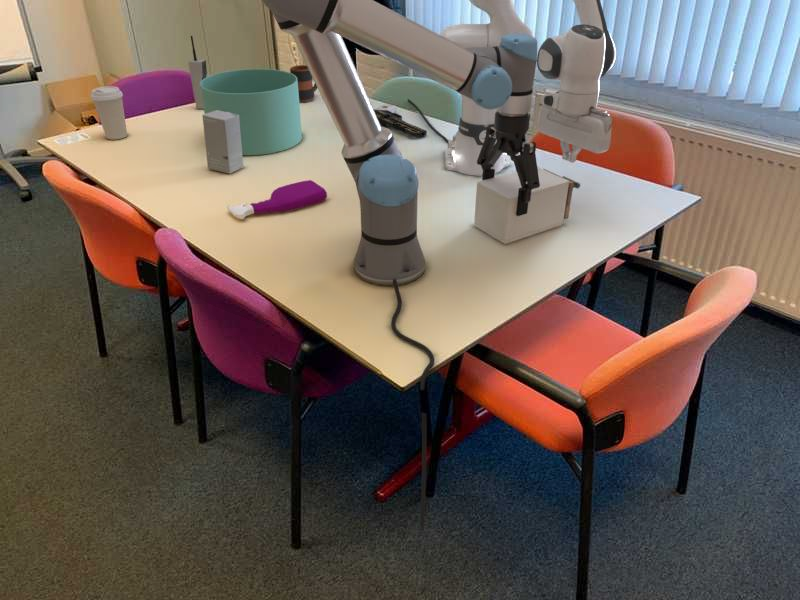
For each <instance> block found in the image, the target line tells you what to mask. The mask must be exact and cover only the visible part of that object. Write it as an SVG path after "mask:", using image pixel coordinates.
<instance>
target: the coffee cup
mask: <svg viewBox="0 0 800 600" xmlns="http://www.w3.org/2000/svg"><path fill="white" fill-rule="evenodd" d="M123 96H124V94H123V92H122V91H121V90H120V88H119V87H118V86H113V85H112V86H110V85H109V86H100V87H96V88H94V89H92V90H91V94H90V99H91V100H92V101H93V105H94V107H95V109H96V113H97V115H98V118H99V121H100V124H101V127H102V129H103V133H104V135H105V138H106V139H108V140H113V141H114V140H122V139H125V138H126V137H128V129H127V124H126V123H127V122H126V116H125V111H124V101H123Z"/></svg>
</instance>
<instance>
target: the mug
mask: <svg viewBox="0 0 800 600" xmlns="http://www.w3.org/2000/svg"><path fill="white" fill-rule="evenodd" d="M289 73H292V74H293V75H295V76H296V77H297V81H298V92H299V103H308V102H311V101H313V100H314V98H315V92H316V91H317V90H318V88H317V86H316V84H315V83H313V77H312V75H311V73H310V71H309V69H308V67H307V65H306V64H305V65H304V64H303V65H302V64H299V65H293V66H291V67H290V69H289Z"/></svg>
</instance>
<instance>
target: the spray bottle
mask: <svg viewBox="0 0 800 600" xmlns="http://www.w3.org/2000/svg"><path fill="white" fill-rule="evenodd" d="M327 198H328V193H327V191H326V189H325V188H324V187H322V186H321V185H319V184H318V183H317V182H315V181H313V180H312V179H309V180H302V181H297V182H294V183H289V184H285V185H283V186H279V187H277V188H276V189H274V190H273V191H272V193H271V194H270V198H269V199H267V200H266V199H265V200H264V201H263V200H261V201H259V202H255V203H254V202H252V203H250V205H247V202H244V203H242V204H240V205H226V209H227V211H228V212H229V213H230V214H232V216H234V217H235V218H236V219H241V220H244V219H245V218H246V217H247V216H250V215H253V214H267V213H275V212H280V213H284V212H289V211H295V210H298V209H302V208H306V207H308V206H313V205H315V204H319V203H322V202H324V201H325V200H327Z"/></svg>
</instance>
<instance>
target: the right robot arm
mask: <svg viewBox="0 0 800 600" xmlns="http://www.w3.org/2000/svg"><path fill="white" fill-rule="evenodd" d="M468 1H469V2H470V4H472V5H473V6H474V7H475V8H478V9H479V10H481V11H483V12H485V13H486V14H487V15H488V18H489V23H460V24H459V23H458V24H454V25H450V26H446V27H444V29H443V30H442V31H441V32H440V34H439V35H441V36H443V37H445V38H447V39H449V40H450V41H452V42H454V43H456V44H458V45H460V46H462V47H464V48H466V47H495V46H500V42H501V38H502V37H503V36H504V35H506V34H512V33H520V34H528V35H532V36H533V37H535V35H534V32H533V31H532V30H531V29H530V27H528V25H526V24H525V23H524V22H523V21H522V19H521V18H520V17H519V15H518V13H517V12H516V8H515V7H514V2H513V0H468ZM572 2H573V3H574V5H575V8H576V12H577V16H578V20H579V23H580V24H576V25H573V26H571V27H570V28H569V29H568V31H567V32H565V33H562V34H559V35H555V36H551V37H548V38H546V39H544V41H543V42H542V44H541V45H540V47H539V48H538V50H537V62H536V67H537V69H538V71H539V73H540V74H541V76H542V77H544V78H545V79H547V80H552V81H558V80H559V82H560V85H559V87H558V91H555V92H550V93H546V94H543V95H542V96H541V99H540V103H541V104H542V105H541V106H540V108H539V112H538V118H537V129H538V132H539V133H540V134H543V135H546V136H548V137H551V138H554V139H556V140H558V141H560V142H559V145H560V148H561V152H562V156H561V158H562V160H563V161H566V162H569V163H575V162H576V161H577V157H578V154H579V153H580V152H581V151H582V149H583V150H586V151H588V152H591V153H594V154H596V155H597V154H598V155H599V154H603V153H605V152H608V150H609V149H610V147H611V141H612V124H613V123H612V122H613V119H612V117H611V115H610V114H609V112H608V111H606V110H602V109H600V108H597V107H598V102H599V101H598V100H599V94H600V79H602V78H603V77H604V76H606V74H608V72H610V70H611V69H612V67H613V66H614V64H615V61H616V57H617V49H616V45H615V43H614V40H613V38H612V35H611V33H610V31H609V28H608V24H607V22H606V18H605V13H604V10H603V7H602V2H601V0H572ZM460 95H461V114H460V115H461V117H460V118H459V121H458V130H457V132H455V133H454V134H453V136H452V140H451V139H450V140H449V139H448V138H447V137H446V136H444V135H443V134H441V132H439V131H438V130H437V129H436V128H435V127H434V126H433V125H432V124H431V123H430V122H429V120H428V119H427V117H426V116H425V115H424V113H423V111H422V110H421V109H420V108H419V107H418V105H417V104H415V103H414V102H413V101H412V100H410V99H409V98H407V102H408V103H409V104H411V105H412V106H413V107H414V108H415V109H416V110H417V111H418V112H419V114H420V115H421V117H422V118H423V120H424V121H425V123H426V124H427V125H428V126H429V128H430V129H431V130H432V131H433V132H434V133H435V134H437V136H439V137H440V138H442V139H443V140H444V141H445V142H446V143H447V148H445V150H444V160H445V169H446V170H448V171H452V172H453V171H455V172H458V173H461V174H463V175H468V176H476V177H477V176H478V177H479V176H481V177H482V175H483V169H482V166H481V165H478V164H477V159H478V157H479V154H480V151H481V149H482V146H483V143H484V140H485V138H486V129H487V128H490V127H494V121H495V113H496V112H497V110H496V109H485V108H482V107H481V106H479V105H477V104H476V103H475V102H474V101H473V100H472V99H470V98H468V97H466V96H464V95H462V94H460ZM496 142H497V139H496ZM496 142H495V144H496ZM570 145H571V148H570ZM571 149H572V150H571ZM506 155H507V154H506V153H502V155H501V156H500V157H499V159H498V160H497V161H496V163H495V164H494V166H495V167H492V168H491V169H495V174H498V173H500V172H501V171H502V170H504V169H505V168H507V167H509V166H510V161H508V159H506Z"/></svg>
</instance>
